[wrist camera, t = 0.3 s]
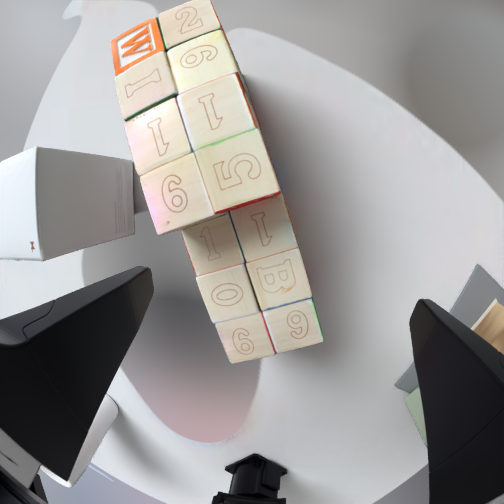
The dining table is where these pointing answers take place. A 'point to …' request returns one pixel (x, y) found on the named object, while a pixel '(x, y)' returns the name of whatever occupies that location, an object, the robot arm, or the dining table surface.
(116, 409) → the drinking glass
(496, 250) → the dining table surface
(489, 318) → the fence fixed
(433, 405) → the robot arm
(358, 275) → the dining table surface
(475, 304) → the board
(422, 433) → the fence hinged panel
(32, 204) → the supplement box
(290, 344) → the stack of blocks
